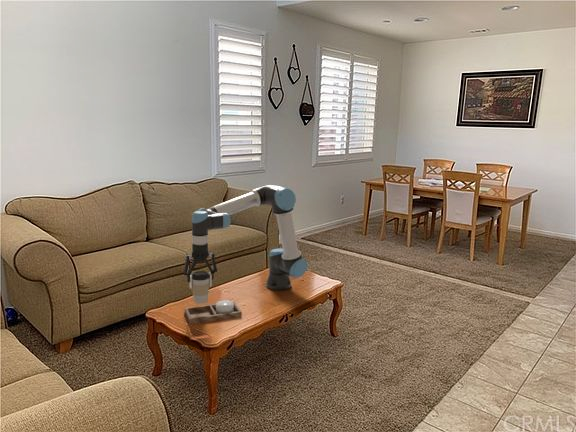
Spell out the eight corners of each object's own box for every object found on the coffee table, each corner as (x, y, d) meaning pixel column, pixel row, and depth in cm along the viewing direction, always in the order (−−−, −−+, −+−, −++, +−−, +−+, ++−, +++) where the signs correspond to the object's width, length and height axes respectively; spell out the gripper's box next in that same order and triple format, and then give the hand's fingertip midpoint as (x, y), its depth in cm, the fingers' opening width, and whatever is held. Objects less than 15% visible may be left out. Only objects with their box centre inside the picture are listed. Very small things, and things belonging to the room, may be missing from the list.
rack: (234, 307, 235) (234, 301, 235) (241, 318, 223) (241, 311, 222) (184, 314, 225) (184, 307, 225) (189, 326, 213) (189, 319, 212)
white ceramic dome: (231, 308, 232) (231, 299, 231) (235, 315, 224) (235, 306, 223) (214, 310, 229) (214, 301, 227) (218, 317, 220) (218, 308, 219)
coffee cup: (189, 298, 222) (189, 270, 219) (207, 296, 226) (207, 268, 222) (193, 305, 214) (193, 276, 211) (211, 303, 218) (211, 274, 214)
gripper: (220, 239, 221) (220, 281, 226) (176, 242, 213) (177, 286, 217) (223, 243, 214) (223, 287, 219) (178, 246, 206) (179, 292, 211)
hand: (200, 286), depth 218 cm, fingers closed on coffee cup, 9 cm apart
